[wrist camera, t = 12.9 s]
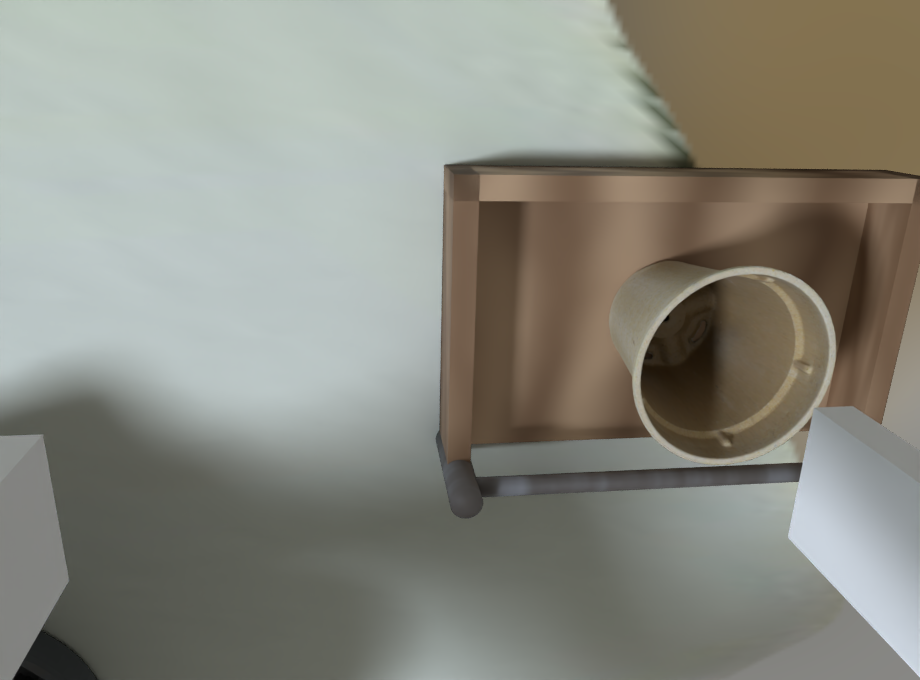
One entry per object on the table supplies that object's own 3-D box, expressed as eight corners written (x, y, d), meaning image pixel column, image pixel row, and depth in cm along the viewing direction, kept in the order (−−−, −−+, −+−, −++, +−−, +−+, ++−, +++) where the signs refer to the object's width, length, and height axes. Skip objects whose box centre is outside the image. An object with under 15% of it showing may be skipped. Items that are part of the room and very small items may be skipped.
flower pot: (585, 229, 38) (646, 268, 30) (754, 227, 40) (855, 265, 32) (572, 394, 42) (624, 470, 33) (730, 388, 43) (817, 460, 35)
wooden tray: (435, 451, 42) (450, 519, 36) (440, 164, 37) (458, 183, 31) (832, 435, 46) (911, 494, 39) (888, 170, 40) (991, 187, 34)
